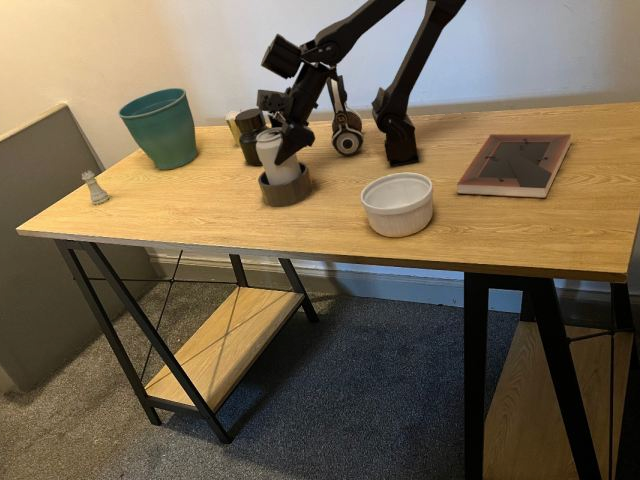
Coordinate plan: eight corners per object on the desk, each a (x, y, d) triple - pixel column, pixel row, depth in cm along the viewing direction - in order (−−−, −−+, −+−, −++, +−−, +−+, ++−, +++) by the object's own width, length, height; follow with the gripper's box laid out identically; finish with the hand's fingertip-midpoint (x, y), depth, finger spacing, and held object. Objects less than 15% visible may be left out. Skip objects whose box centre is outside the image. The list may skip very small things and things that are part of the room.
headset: (335, 136, 149) (315, 57, 137) (364, 129, 148) (347, 49, 136) (335, 164, 135) (313, 79, 123) (367, 157, 134) (348, 71, 122)
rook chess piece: (94, 207, 147) (78, 179, 142) (92, 201, 150) (76, 173, 146) (111, 200, 148) (96, 172, 143) (108, 194, 151) (94, 166, 147)
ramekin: (452, 218, 105) (447, 184, 101) (394, 250, 101) (387, 217, 97) (409, 196, 115) (403, 165, 111) (354, 225, 111) (346, 194, 107)
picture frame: (545, 199, 103) (570, 144, 117) (545, 187, 102) (571, 133, 116) (457, 194, 111) (491, 144, 125) (456, 183, 110) (490, 133, 124)
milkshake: (250, 146, 156) (238, 110, 151) (232, 148, 158) (219, 113, 152) (255, 138, 160) (243, 104, 154) (238, 141, 161) (225, 106, 156)
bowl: (316, 177, 132) (310, 157, 129) (310, 201, 123) (304, 180, 120) (269, 186, 134) (262, 166, 131) (261, 210, 125) (253, 190, 122)
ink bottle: (270, 167, 142) (255, 121, 135) (240, 168, 146) (223, 123, 139) (286, 149, 149) (272, 104, 142) (257, 151, 152) (242, 107, 145)
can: (310, 176, 127) (294, 125, 120) (290, 193, 122) (273, 141, 115) (284, 174, 131) (267, 124, 124) (264, 191, 126) (245, 140, 119)
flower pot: (187, 175, 150) (160, 112, 140) (133, 178, 157) (103, 118, 147) (220, 144, 163) (197, 84, 153) (168, 148, 170) (144, 91, 160)
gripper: (262, 62, 121) (230, 129, 126) (281, 83, 106) (245, 158, 111) (307, 87, 127) (275, 150, 132) (331, 109, 112) (295, 180, 117)
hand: (272, 158), depth 123 cm, fingers closed on can, 7 cm apart
